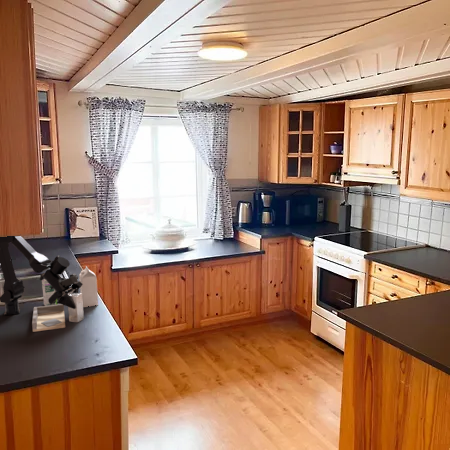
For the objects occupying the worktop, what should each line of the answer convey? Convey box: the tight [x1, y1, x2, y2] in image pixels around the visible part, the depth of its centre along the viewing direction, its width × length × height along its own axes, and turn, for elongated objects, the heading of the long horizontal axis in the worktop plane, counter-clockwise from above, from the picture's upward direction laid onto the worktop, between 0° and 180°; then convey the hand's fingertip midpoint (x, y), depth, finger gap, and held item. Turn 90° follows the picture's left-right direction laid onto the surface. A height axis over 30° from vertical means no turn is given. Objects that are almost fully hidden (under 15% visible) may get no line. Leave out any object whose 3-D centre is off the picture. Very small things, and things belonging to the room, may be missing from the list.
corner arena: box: [31, 303, 66, 332], centre depth 204 cm, size 20×13×4 cm, turn 20°
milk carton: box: [78, 265, 99, 308], centre depth 224 cm, size 7×7×19 cm
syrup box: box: [41, 279, 58, 306], centre depth 224 cm, size 6×6×14 cm
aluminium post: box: [67, 292, 85, 323], centre depth 205 cm, size 4×4×12 cm
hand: (78, 306), depth 204 cm, fingers closed on aluminium post, 4 cm apart
